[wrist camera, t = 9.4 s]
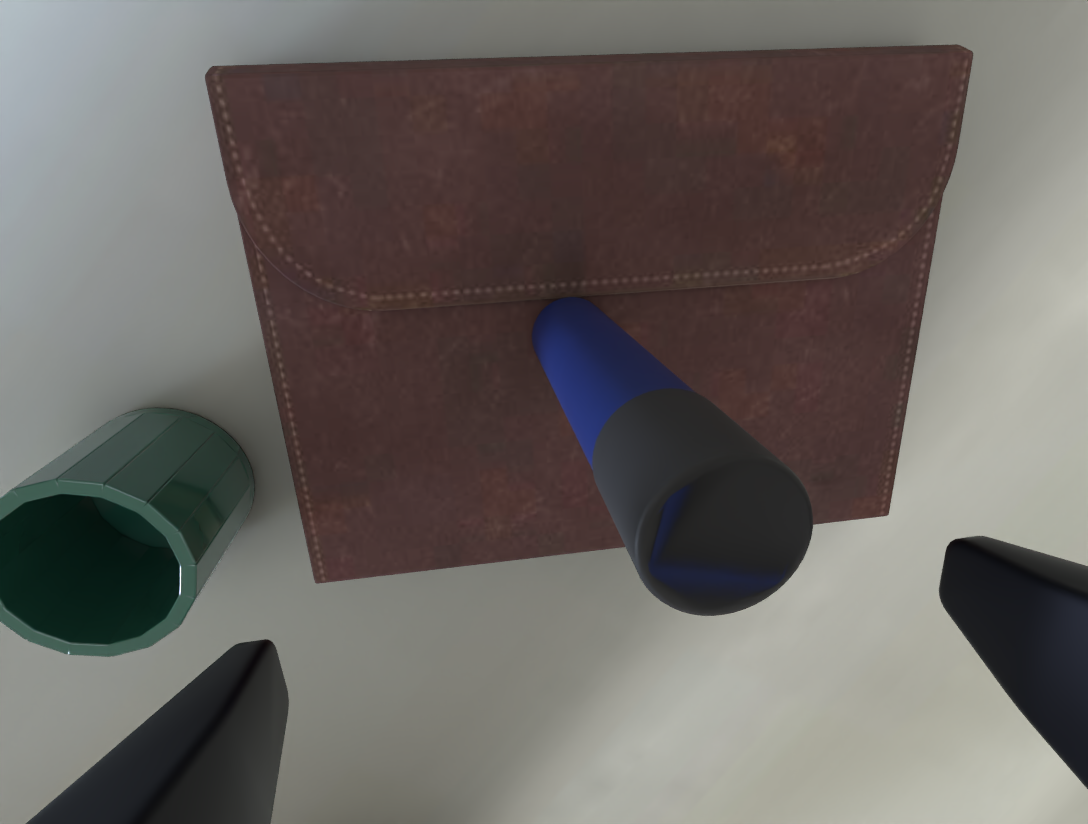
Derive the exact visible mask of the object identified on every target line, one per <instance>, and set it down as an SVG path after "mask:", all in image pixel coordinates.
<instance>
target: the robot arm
mask: <svg viewBox="0 0 1088 824" xmlns="http://www.w3.org/2000/svg"><path fill="white" fill-rule="evenodd" d="M939 596H940V599H941V602H942V604H943V607H944V608H945V610H946V611H947V613H948V614H949V615H950V617H951V618H952V619H953V621H954V622H955V624H956V625H957V626H958V628H959V629H960V630H961V632H962V633H963V634H964V636H965V637H966V639H967V640H968V641H969V643H970V644H971V645H972V647H973V648H974V649H975V651H976V652H977V654H978V655H979V656H980V658H981V659H982V660H983V662H984V663H985V665H986V666H987V667H988V669H989V670H990V671H991V673H992V674H993V675H994V677H995V678H996V680H997V681H998V682H999V684H1000V685H1001V686H1002V688H1003V689H1004V690H1005V692H1006V693H1007V694H1008V696H1009V697H1010V698H1011V700H1012V701H1013V702H1014V704H1015V705H1016V706H1017V707H1018V709H1019V710H1020V711H1021V712H1022V713H1023V715H1024V716H1025V717H1026V718H1027V719H1028V721H1029V722H1030V723H1031V724H1032V725H1033V727H1034V728H1035V729H1036V730H1037V731H1038V732H1039V734H1040V735H1041V736H1042V737H1043V738H1044V739H1045V740H1046V742H1047V743H1048V744H1049V745H1050V746H1051V747H1052V749H1053V750H1054V751H1055V752H1056V753H1057V754H1058V755H1059V757H1060V758H1061V759H1062V760H1063V761H1064V762H1065V763H1066V765H1067V766H1068V767H1069V768H1070V769H1071V770H1072V772H1073V773H1074V774H1075V775H1076V776H1077V777H1078V778H1079V780H1080V781H1081V782H1082V783H1083V784H1084V785H1085V787H1086V788H1087V789H1088V566H1085V565H1081V564H1078V563H1075V562H1071V561H1068V560H1064V559H1061V558H1057V557H1054V556H1051V555H1047V554H1044V553H1040V552H1037V551H1034V550H1030V549H1027V548H1023V547H1020V546H1016V545H1013V544H1010V543H1006V542H1003V541H999V540H996V539H993V538H989V537H985V536H974V537H967V538H960V539H955V540H953V541H951V542H950V543H949V545H948V546H947V549H946V553H945V558H944V564H943V569H942V575H941V580H940V586H939ZM288 707H289V699H288V691H287V687H286V683H285V679H284V676H283V672H282V668H281V664H280V661H279V657H278V653H277V650H276V647H275V645H274V644H273V642H271V641H270V640H266V639H265V640H258V641H251V642H244V643H239V644H236V645H234V646H233V647H232V648H230V649H229V650H228V651H227V652H226V653H224V654H223V655H222V656H221V657H220V658H219V659H217V660H216V661H215V662H214V663H213V664H212V665H210V666H209V667H208V668H207V669H206V670H205V671H203V672H202V673H201V674H200V675H199V676H198V677H196V678H195V679H194V680H193V681H192V682H191V683H189V684H188V685H187V686H186V687H185V688H184V689H182V690H181V691H180V692H179V693H178V694H177V695H175V696H174V697H173V698H172V699H171V700H170V701H168V702H167V703H166V704H165V705H164V706H163V707H161V708H160V709H159V710H158V711H157V712H156V713H154V714H153V715H152V716H151V717H150V718H149V719H147V720H146V721H145V722H144V723H143V724H142V725H140V726H139V727H138V728H137V729H136V730H135V731H133V732H132V733H131V734H130V735H129V736H128V737H126V738H125V739H124V740H123V741H122V742H121V743H119V744H118V745H117V746H116V747H115V748H114V749H112V750H111V751H110V752H109V753H108V754H107V755H105V756H104V757H103V758H102V759H101V760H100V761H98V762H97V763H96V764H95V765H94V766H93V767H91V768H90V769H89V770H88V771H87V772H86V773H84V774H83V775H82V776H81V777H80V778H79V779H77V780H76V781H75V782H74V783H73V784H72V785H70V786H69V787H68V788H67V789H66V790H65V791H63V792H62V793H61V794H60V795H59V796H58V797H56V798H55V799H54V800H53V801H52V802H51V803H49V804H48V805H47V806H46V807H45V808H44V809H43V810H41V811H40V812H39V813H38V814H37V815H36V816H34V817H33V818H32V819H31V820H30V821H29V822H27V823H26V824H270V823H271V817H272V811H273V805H274V798H275V792H276V786H277V779H278V773H279V767H280V760H281V754H282V748H283V741H284V735H285V729H286V722H287V716H288Z"/></svg>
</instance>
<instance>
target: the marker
mask: <svg viewBox="0 0 1088 824" xmlns="http://www.w3.org/2000/svg"><path fill="white" fill-rule="evenodd" d="M532 343H533V347H534V350H535V353H536V355H537V357H538V359H539V361H540V363H541V365H542V367H543V369H544V371H545V373H546V375H547V377H548V379H549V382H550V384H551V386H552V388H553V390H554V392H555V394H556V396H557V398H558V400H559V402H560V404H561V406H562V408H563V410H564V412H565V414H566V417H567V419H568V421H569V423H570V425H571V427H572V429H573V431H574V433H575V435H576V437H577V439H578V441H579V443H580V445H581V447H582V449H583V452H584V454H585V456H586V458H587V460H588V462H589V464H590V466H591V468H592V470H593V475H594V479H595V483H596V485H597V487H598V489H599V492H600V494H601V496H602V498H603V500H604V502H605V504H606V506H607V508H608V511H609V513H610V515H611V517H612V519H613V521H614V523H615V525H616V527H617V530H618V532H619V534H620V536H621V538H622V540H623V542H624V544H625V546H626V548H627V551H628V553H629V555H630V557H631V559H632V561H633V563H634V565H635V567H636V570H637V572H638V574H639V576H640V578H641V580H642V581H643V583H644V584H645V586H646V587H647V588H648V590H649V591H650V592H651V593H652V594H653V595H654V596H655V597H657V598H658V599H659V600H660V601H662V602H664V603H665V604H667V605H669V606H670V607H672V608H674V609H677V610H679V611H682V612H685V613H689V614H694V615H702V616H714V615H724V614H729V613H734V612H737V611H740V610H743V609H746V608H748V607H751V606H753V605H755V604H757V603H759V602H761V601H762V600H764V599H766V598H767V597H769V596H770V595H771V594H773V593H774V592H776V591H777V590H778V589H779V588H780V587H781V586H782V585H784V584H785V582H786V581H787V580H788V579H789V578H790V577H791V576H792V575H793V573H794V572H795V571H796V569H797V568H798V566H799V565H800V563H801V561H802V560H803V558H804V556H805V554H806V551H807V549H808V546H809V543H810V540H811V535H812V529H813V514H812V507H811V503H810V499H809V496H808V493H807V491H806V489H805V487H804V485H803V483H802V482H801V480H800V479H799V477H798V476H797V475H796V474H795V473H794V472H793V471H792V470H791V469H790V468H789V467H788V466H786V465H785V464H784V463H783V462H782V461H781V460H779V459H778V458H777V457H776V456H775V455H774V454H772V453H771V452H770V451H769V450H768V449H766V448H765V447H764V446H763V445H762V444H761V443H759V442H758V441H757V440H756V439H755V438H753V437H752V436H751V435H750V434H749V433H748V432H746V431H745V430H744V429H743V428H742V427H741V426H739V425H738V424H737V423H736V422H735V421H733V420H732V419H731V418H730V417H729V416H728V415H726V414H725V413H724V412H723V411H722V410H721V409H719V408H718V407H717V406H716V405H715V404H713V403H712V402H711V401H710V400H708V399H707V398H705V397H703V396H701V395H700V394H697V393H696V392H695V391H693V390H692V389H691V388H690V387H689V386H688V385H687V384H685V383H684V382H683V381H682V380H681V379H680V378H678V377H677V376H676V375H675V374H674V373H673V372H672V371H670V370H669V369H668V368H667V367H666V366H665V365H663V364H662V363H661V362H660V361H659V360H658V359H656V358H655V357H654V356H653V355H652V354H651V353H650V352H648V351H647V350H646V349H645V348H644V347H643V346H641V345H640V344H639V343H638V342H637V341H636V340H635V339H633V338H632V337H631V336H630V335H629V334H628V333H626V332H625V331H624V330H623V329H622V328H621V327H620V326H618V325H617V324H616V323H615V322H614V321H613V320H611V319H610V318H609V317H608V316H607V315H606V314H605V313H603V312H602V311H601V310H600V309H599V308H598V307H596V306H595V305H594V304H593V303H591V302H589V301H587V300H585V299H582V298H577V297H567V298H562V299H558V300H556V301H554V302H552V303H550V304H549V305H548V306H546V307H545V308H544V309H543V310H542V311H541V312H540V314H539V315H538V317H537V319H536V321H535V323H534V326H533V330H532Z"/></svg>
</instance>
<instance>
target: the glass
mask: <svg viewBox="0 0 1088 824" xmlns="http://www.w3.org/2000/svg"><path fill="white" fill-rule="evenodd" d="M254 491H255V490H254V478H253V473H252V470H251V467H250V464H249V462H248V460H247V458H246V456H245V454H244V452H243V451H242V449H241V448H240V446H239V445H238V444H237V443H236V442H235V441H234V440H233V438H232V437H231V436H229V435H228V434H227V433H226V432H225V431H224V430H222V429H221V428H220V427H218V426H217V425H215V424H214V423H212V422H210V421H208V420H206V419H204V418H202V417H200V416H197V415H195V414H192V413H188V412H185V411H181V410H175V409H167V408H147V409H141V410H136V411H132V412H129V413H126V414H123V415H121V416H119V417H117V418H115V419H113V420H112V421H109V422H108V423H106V424H105V425H103V426H102V427H100V428H99V429H98V430H96V431H95V432H93V433H92V434H90V435H89V436H88V437H86V438H85V439H83V440H82V441H80V442H79V443H78V444H76V445H75V446H73V447H72V448H70V449H69V450H67V451H66V452H65V453H63V454H62V455H60V456H59V457H57V458H56V459H55V460H53V461H52V462H50V463H49V464H47V465H46V466H44V467H43V468H42V469H40V470H39V471H37V472H36V473H34V474H33V475H32V476H30V477H29V478H27V479H26V480H24V481H23V482H22V483H20V484H19V485H17V486H16V487H14V488H13V489H11V490H10V491H9V492H7V493H6V494H5V495H3V496H2V497H1V498H0V622H2V623H3V624H4V625H6V626H7V627H9V628H10V629H11V630H13V631H14V632H15V633H17V634H18V635H20V636H21V637H22V638H24V639H27V640H28V641H30V642H32V643H35V644H38V645H41V646H44V647H47V648H50V649H53V650H56V651H59V652H62V653H64V654H68V653H69V655H84V656H103V657H110V656H117V655H121V654H124V653H128V652H132V651H136V650H140V649H144V648H148V647H150V646H152V645H154V644H155V643H157V642H158V641H159V640H161V639H162V638H164V637H165V636H167V635H168V634H170V633H171V632H172V631H174V630H175V629H177V628H178V627H179V626H180V625H181V624H182V622H183V621H184V619H185V618H186V616H187V614H188V613H189V611H190V609H191V608H192V606H193V605H194V603H195V601H196V600H197V598H198V596H199V595H200V593H201V591H202V590H203V588H204V587H205V585H206V583H207V582H208V580H209V578H210V577H211V575H212V574H213V572H214V570H215V569H216V567H217V565H218V564H219V562H220V560H221V559H222V557H223V556H224V554H225V552H226V551H227V549H228V547H229V546H230V544H231V543H232V541H233V539H234V538H235V536H236V534H237V533H238V531H239V529H240V527H241V526H242V524H243V522H244V521H245V519H246V517H247V516H248V513H249V511H250V509H251V506H252V503H253V499H254Z"/></svg>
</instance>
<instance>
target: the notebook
mask: <svg viewBox="0 0 1088 824" xmlns="http://www.w3.org/2000/svg"><path fill="white" fill-rule="evenodd" d="M972 59H973V52H972V51H970V50H968V49H966V48H964V47H962V46H960V45H926V46H892V47H857V48H823V49H788V50H753V51H719V52H684V53H650V54H615V55H581V56H546V57H511V58H477V59H442V60H408V61H373V62H339V63H304V64H269V65H235V66H212V67H211V68H210V69H209V70H208V72H207V73H206V75H205V80H206V85H207V90H208V95H209V99H210V104H211V109H212V114H213V119H214V123H215V128H216V133H217V138H218V142H219V147H220V152H221V157H222V161H223V166H224V171H225V176H226V180H227V185H228V188H229V192H230V196H231V199H232V202H233V205H234V207H235V210H236V212H237V215H238V220H239V225H240V230H241V234H242V239H243V244H244V249H245V253H246V258H247V263H248V267H249V272H250V277H251V282H252V286H253V291H254V296H255V301H256V305H257V310H258V315H259V320H260V324H261V329H262V334H263V339H264V343H265V348H266V353H267V357H268V362H269V367H270V372H271V376H272V381H273V386H274V391H275V395H276V400H277V405H278V410H279V414H280V419H281V424H282V429H283V433H284V438H285V443H286V447H287V452H288V457H289V462H290V466H291V471H292V476H293V481H294V485H295V490H296V495H297V500H298V504H299V509H300V514H301V519H302V523H303V528H304V533H305V538H306V542H307V547H308V552H309V556H310V561H311V566H312V571H313V575H314V580H315V583H326V582H334V581H343V580H351V579H359V578H368V577H376V576H385V575H393V574H401V573H410V572H418V571H427V570H435V569H443V568H452V567H460V566H469V565H477V564H486V563H494V562H502V561H511V560H519V559H528V558H536V557H544V556H553V555H561V554H570V553H578V552H586V551H595V550H603V549H612V548H620V547H626V546H625V544H624V542H623V540H622V538H621V536H620V534H619V532H618V530H617V527H616V525H615V523H614V521H613V519H612V517H611V515H610V513H609V511H608V508H607V506H606V504H605V502H604V500H603V498H602V496H601V494H600V492H599V489H598V487H597V485H596V483H595V479H594V475H593V470H592V468H591V466H590V464H589V462H588V460H587V458H586V456H585V454H584V452H583V449H582V447H581V445H580V443H579V441H578V439H577V437H576V435H575V433H574V431H573V429H572V427H571V425H570V423H569V421H568V419H567V417H566V414H565V412H564V410H563V408H562V406H561V404H560V402H559V400H558V398H557V396H556V394H555V392H554V390H553V388H552V386H551V384H550V382H549V379H548V377H547V375H546V373H545V371H544V369H543V367H542V365H541V363H540V361H539V359H538V357H537V355H536V353H535V350H534V347H533V343H532V330H533V326H534V323H535V321H536V319H537V317H538V315H539V314H540V312H541V311H542V310H543V309H544V308H545V307H546V306H548V305H549V304H550V303H552V302H554V301H556V300H558V299H562V298H567V297H577V298H582V299H585V300H587V301H589V302H591V303H593V304H594V305H595V306H596V307H598V308H599V309H600V310H601V311H602V312H603V313H605V314H606V315H607V316H608V317H609V318H610V319H611V320H613V321H614V322H615V323H616V324H617V325H618V326H620V327H621V328H622V329H623V330H624V331H625V332H626V333H628V334H629V335H630V336H631V337H632V338H633V339H635V340H636V341H637V342H638V343H639V344H640V345H641V346H643V347H644V348H645V349H646V350H647V351H648V352H650V353H651V354H652V355H653V356H654V357H655V358H656V359H658V360H659V361H660V362H661V363H662V364H663V365H665V366H666V367H667V368H668V369H669V370H670V371H672V372H673V373H674V374H675V375H676V376H677V377H678V378H680V379H681V380H682V381H683V382H684V383H685V384H687V385H688V386H689V387H690V388H691V389H692V390H693V391H695V392H696V393H697V394H700V395H701V396H703V397H705V398H707V399H708V400H710V401H711V402H712V403H713V404H715V405H716V406H717V407H718V408H719V409H721V410H722V411H723V412H724V413H725V414H726V415H728V416H729V417H730V418H731V419H732V420H733V421H735V422H736V423H737V424H738V425H739V426H741V427H742V428H743V429H744V430H745V431H746V432H748V433H749V434H750V435H751V436H752V437H753V438H755V439H756V440H757V441H758V442H759V443H761V444H762V445H763V446H764V447H765V448H766V449H768V450H769V451H770V452H771V453H772V454H774V455H775V456H776V457H777V458H778V459H779V460H781V461H782V462H783V463H784V464H785V465H786V466H788V467H789V468H790V469H791V470H792V471H793V472H794V473H795V474H796V475H797V476H798V477H799V479H800V480H801V482H802V483H803V485H804V487H805V489H806V491H807V493H808V496H809V499H810V503H811V507H812V514H813V524H822V523H830V522H839V521H847V520H856V519H864V518H872V517H881V516H887V515H888V514H889V509H890V503H891V497H892V491H893V485H894V479H895V474H896V468H897V462H898V456H899V450H900V444H901V438H902V432H903V426H904V420H905V415H906V409H907V403H908V397H909V391H910V385H911V379H912V373H913V367H914V361H915V355H916V350H917V344H918V338H919V332H920V326H921V320H922V314H923V308H924V302H925V296H926V291H927V285H928V279H929V273H930V267H931V261H932V255H933V249H934V243H935V237H936V231H937V226H938V220H939V214H940V208H941V202H942V196H943V192H944V190H945V187H946V185H947V183H948V180H949V178H950V175H951V172H952V169H953V166H954V163H955V158H956V153H957V149H958V143H959V137H960V131H961V125H962V119H963V113H964V107H965V101H966V95H967V89H968V83H969V77H970V71H971V65H972Z"/></svg>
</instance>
